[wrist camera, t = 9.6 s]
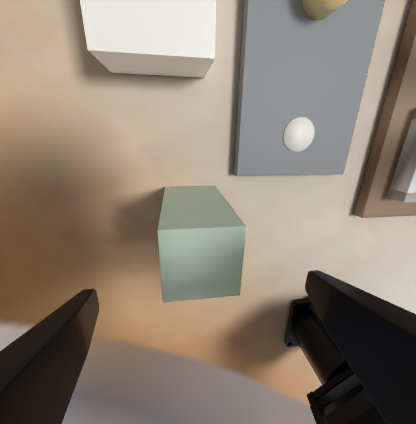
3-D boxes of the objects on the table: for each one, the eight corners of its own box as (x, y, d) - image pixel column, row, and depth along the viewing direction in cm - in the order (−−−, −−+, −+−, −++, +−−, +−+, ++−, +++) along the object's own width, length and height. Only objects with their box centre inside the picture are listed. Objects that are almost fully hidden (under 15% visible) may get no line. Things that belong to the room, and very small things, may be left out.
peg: (213, 230, 19) (239, 295, 11) (167, 232, 18) (162, 302, 11) (215, 185, 17) (245, 226, 10) (165, 186, 17) (157, 230, 9)
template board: (334, 172, 18) (363, 179, 16) (233, 173, 17) (245, 181, 14) (384, -49, 13) (439, -97, 11) (248, -71, 12) (269, -132, 9)
